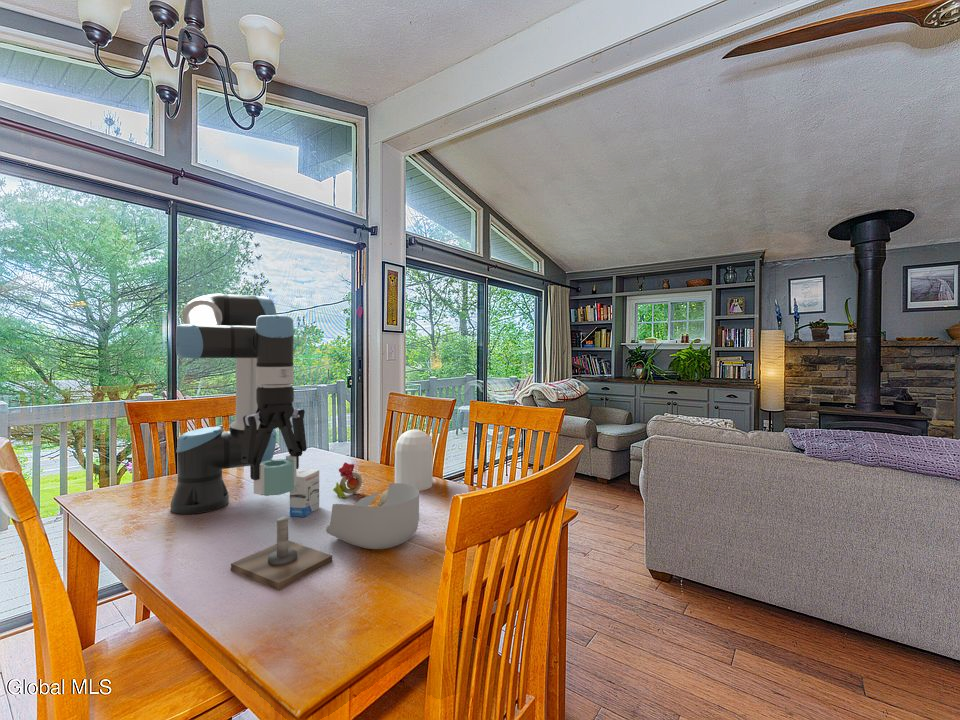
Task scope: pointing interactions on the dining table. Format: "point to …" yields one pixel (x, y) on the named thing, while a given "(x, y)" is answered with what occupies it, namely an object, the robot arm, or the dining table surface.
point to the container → (414, 460)
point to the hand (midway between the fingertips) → (275, 488)
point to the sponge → (383, 498)
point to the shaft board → (281, 561)
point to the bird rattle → (351, 483)
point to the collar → (278, 476)
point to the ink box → (305, 493)
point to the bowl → (378, 519)
